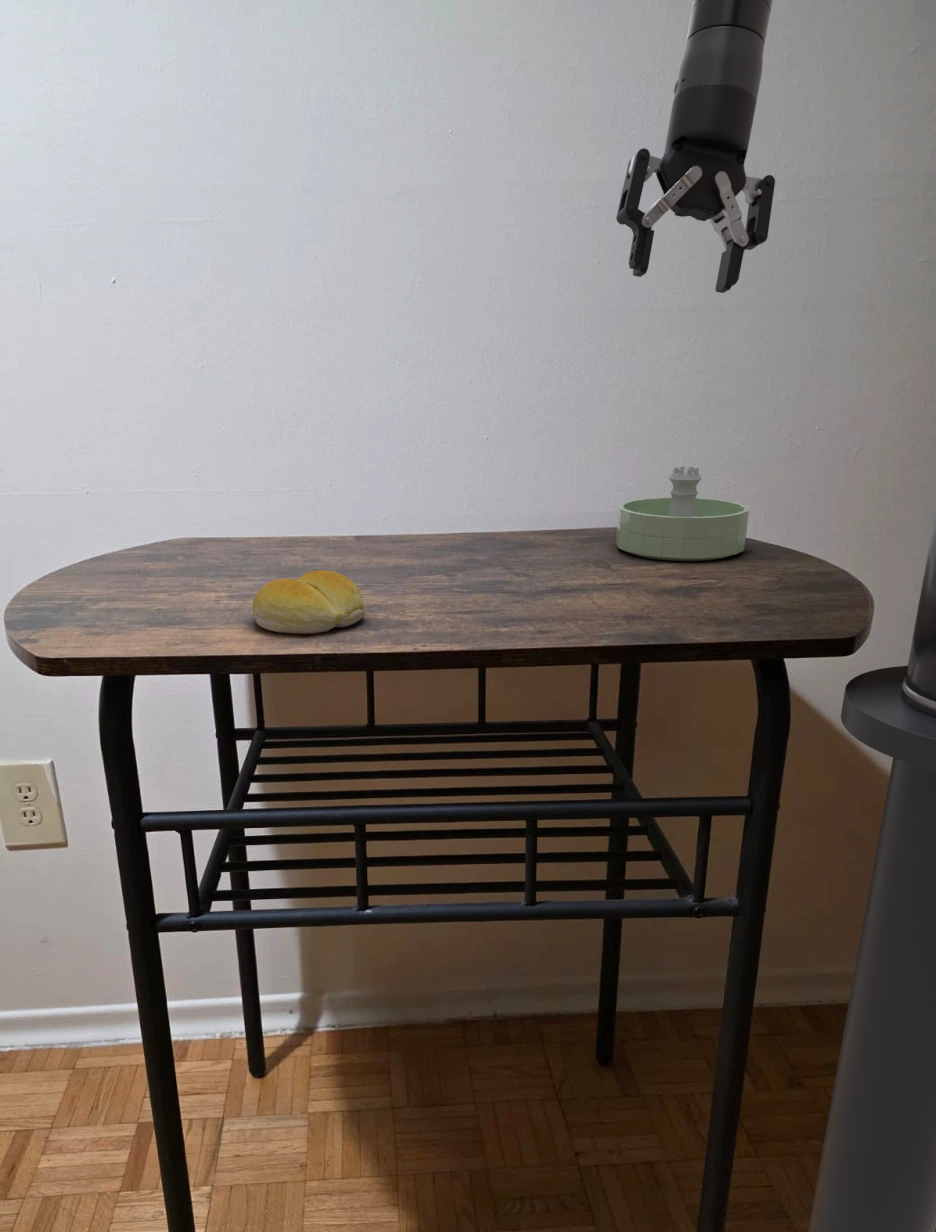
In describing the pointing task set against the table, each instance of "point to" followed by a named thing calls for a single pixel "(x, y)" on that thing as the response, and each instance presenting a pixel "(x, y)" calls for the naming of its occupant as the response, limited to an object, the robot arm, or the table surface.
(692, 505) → the rook chess piece
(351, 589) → the bread roll
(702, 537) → the bowl
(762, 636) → the table surface
